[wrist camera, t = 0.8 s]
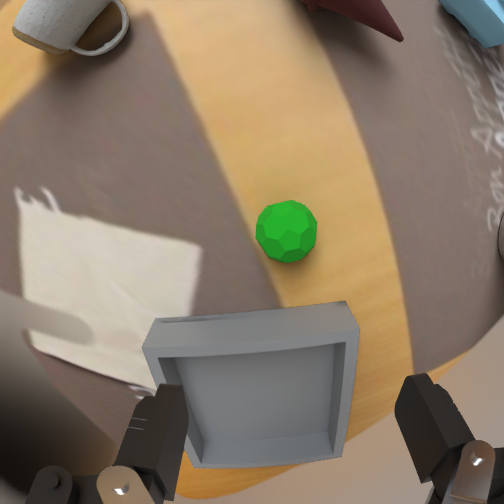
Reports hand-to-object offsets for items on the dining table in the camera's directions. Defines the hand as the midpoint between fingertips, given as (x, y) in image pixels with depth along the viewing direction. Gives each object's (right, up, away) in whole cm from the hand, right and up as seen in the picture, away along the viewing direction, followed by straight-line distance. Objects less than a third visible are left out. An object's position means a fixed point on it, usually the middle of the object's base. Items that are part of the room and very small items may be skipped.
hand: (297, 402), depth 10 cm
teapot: (+21, +31, +9) cm, 39 cm away
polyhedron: (+1, +8, +18) cm, 19 cm away
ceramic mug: (-17, +27, +10) cm, 34 cm away
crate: (-1, -10, +24) cm, 26 cm away
